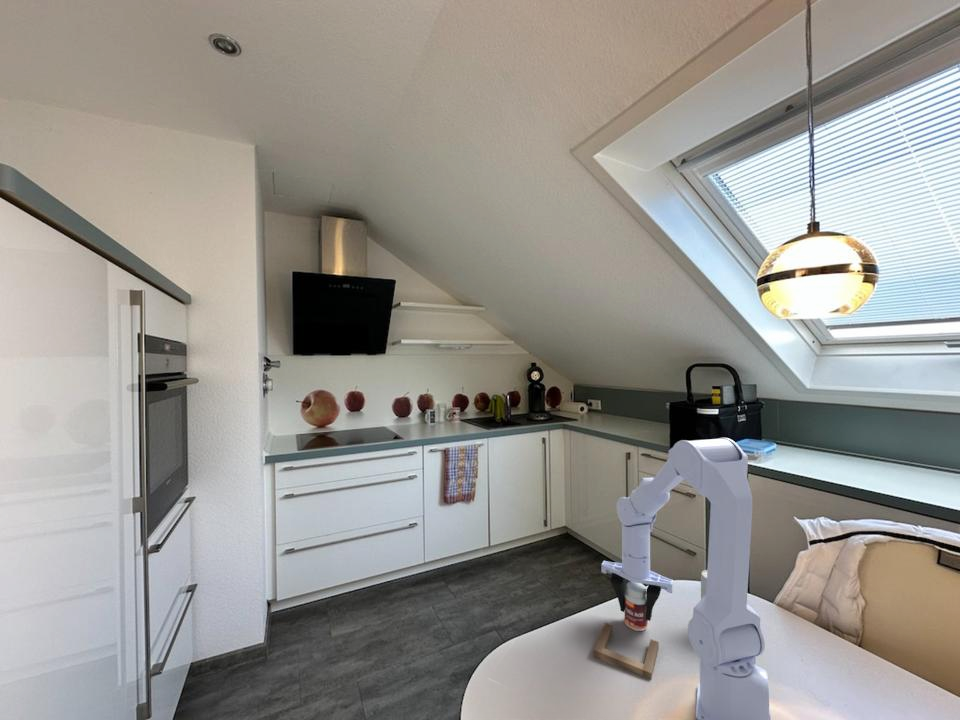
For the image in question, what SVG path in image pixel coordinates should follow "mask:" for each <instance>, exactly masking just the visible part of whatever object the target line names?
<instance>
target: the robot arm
mask: <svg viewBox="0 0 960 720" xmlns="http://www.w3.org/2000/svg"><path fill="white" fill-rule="evenodd" d="M748 462H749V456H748V455H747V454H746V453H745V452H744V451H743V449H742V448H741V446H739V445H738V444H737V442H735V441H734V440H733V439H731V438H728V437H719V438H711V439H694V440H693V439H692V440H686V439H684V440H683V439H681V440H679V441H677V442H676V443H674V445H673V446H672V447H671V448H670V449H669V450H668V459H667V460H666V462H665V463H664V464H663V465H662V467H661V468H660V469H659V471H658V472H657V473H656V475H654V477H642V478H641V480H640V481H639V482H640V484H639V485H637V487H636V488H635V489H632V491H631V494H629V496H628V497H626V496H621V497H619V498H618V500H617V502H616V505H615V507H616V514H617V516H618V519H619V521H620V523H621V556H622V557H621V562H612V561H607V560H603V561H602V563H601V566H600V567H601V571H600V572H601V573H602V574H605V575H606V574H607V573H608V574H610V575H611V577H610V585H611V586H612V588H613V591H614V592H615V595H616V598H617V600H618V604H619V609H620V611H621V612H622V613H625V592H626V584H627V581H628V582H631V581H632V582H635V583H641V584H643V585H647V587H646V596H647V615H646V617H647V620H648V621H651V619H652V615H653V609H654V606H655V604H656V602H657V600H659V597H660V595H661V591H662V590H665V592H666V593H669V594H673V592H674V579H672V578H668V577H666V576H663V575H661V574H659V573H656V572H655V571H652V570H651V532H652V531H654V530H653V525H654V523H655V522H656V521H657V516H658V515H657V512H658V511H660V510H661V509H662V508H663V507H664V506H665V505H666V504H667V503H668V502H669V501H670V498H671V494H670V493H671V491H672V490H673V489H674V488H675V487H677V486H678V485H680V483H682V482H683V481H686V483H688V484H689V486H691V487H692V488H693V489H694V490H695V491H696V492H697V493H698V494H699V495H700V496H703V497H705V498H707V500H708V501H709V503H710V508H709V509H710V512H709V515H710V516H709V532H708V549H707V550H708V551H707V569H706V570H707V588H706V595H705V596H704V597H703V598H702V599H701V598H700V600H699V601H698V602H697V603H696V604H695V606H694V607H693V610H692V611H693V612H692V613H693V614H692V618H691V619H690V620H689V621H688V625H687V636H688V639H689V642H690V643H689V644H690V645H691V647H692V649H693V650H694V652H695V654H696V655H697V656H698V658H699V681H698V682H697V691H696V693H697V694H696V702H695V703H696V705H695V706H696V707H695V719H696V720H771V719H772V718H771V710H770V693H769V690H770V689H769V678H768V671H767V670H765V669H764V668H762V667H760V666H758V665H756V663H757V662H756V657H759V656H762V654H763V653H764V652H765V647H766V646H765V644H766V643H765V638H764V636H763V632H762V629H761V616H760V615H759V614H758V612H756V611H755V609H754V608H753V607H752V606H750V605H749V604H748V588H749V570H750V556H751V537H752V536H751V535H752V520H753V503H754V501H753V495H752V491H751V488H750V487H751V486H750V483H749V481H748Z"/></svg>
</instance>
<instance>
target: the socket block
mask: <svg viewBox="0 0 960 720" xmlns="http://www.w3.org/2000/svg"><path fill="white" fill-rule="evenodd" d="M613 627H614V625H612V624H611V623H608V622H605V623H604V625H603V627H602V629H601V632H600V635H599V636H598V638H597V641H596V643H595V645H594V647H593V649H592V652H593V658H595V659H596V660H599V661H603V662H606V663H608V664H610V665H613V666H616V667H618V668H621V669H623V670H627V671H629V672H630V673H631V672H632V673H633V674H635V675H639V676H642V677H645V678H647V679H650V680H652V679H653V675H654V671H655V665H656V662H657V657H658V653H659V646H660V645H659V644H660V643H659V641H657V640H654V639H651V638H650V640H649V644H648V647H647V650H646V651H647V652H646V656H645V659H644V663H643V662H640V661H638V660H635V659H632V658H630V657H627V656H625V655H622V654H620V653H617V652H616V651H612V650H610V649H607V647H608V645H609V642H610V640H611V638H612V635H613V631H614V629H613Z"/></svg>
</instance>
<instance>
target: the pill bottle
mask: <svg viewBox="0 0 960 720" xmlns="http://www.w3.org/2000/svg"><path fill="white" fill-rule="evenodd" d="M646 591H647V587H646V585H645V584H641V583H635V582H632V581H628V582H626V592H625V610H624V623H625V625H626V626H627V627H628V628H629V629H631V630H633V631H635V632H643V631H645V630H647V628H648V626H649V625H648V624H649V623H648V621H649V620H647V617H646V615H647V596H646Z"/></svg>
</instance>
